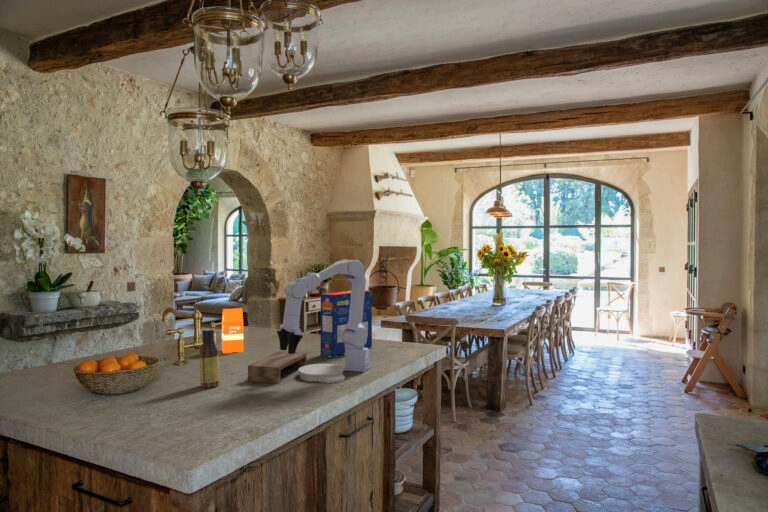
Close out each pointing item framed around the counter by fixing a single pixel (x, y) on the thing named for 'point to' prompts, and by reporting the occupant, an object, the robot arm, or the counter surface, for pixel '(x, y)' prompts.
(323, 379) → the lid
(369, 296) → the pasta box
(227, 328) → the orange juice
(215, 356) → the sauce bottle
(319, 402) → the counter surface
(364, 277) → the robot arm
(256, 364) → the brown slab
